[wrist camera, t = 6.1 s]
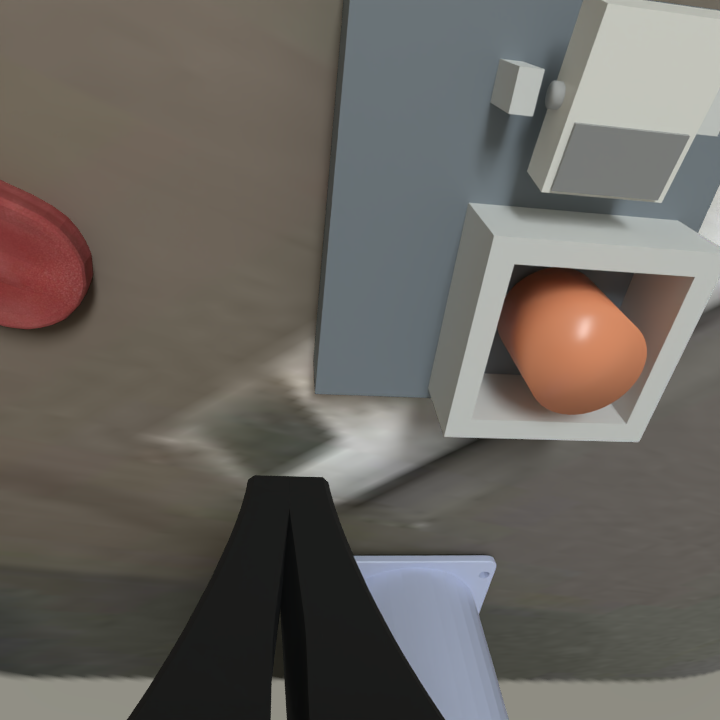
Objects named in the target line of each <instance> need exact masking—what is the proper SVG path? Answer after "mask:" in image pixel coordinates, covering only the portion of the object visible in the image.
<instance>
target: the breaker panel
mask: <svg viewBox="0 0 720 720" xmlns="http://www.w3.org/2000/svg"><path fill="white" fill-rule="evenodd" d="M647 1H652V0H647ZM582 2H583V0H344V1H343V13H342V25H341V37H340V49H339V61H338V73H337V85H336V97H335V109H334V121H333V133H332V145H331V157H330V169H329V181H328V193H327V205H326V217H325V229H324V241H323V253H322V265H321V277H320V288H319V300H318V312H317V324H316V336H315V348H314V360H313V362H314V383H315V394H335V395H363V396H391V397H419V398H431V399H432V402H433V405H434V408H435V411H436V414H437V417H438V420H439V423H440V426H441V429H442V433H443V436H444V437H467V438H505V439H543V440H581V441H619V442H639V441H640V439H641V437H642V435H643V433H644V431H645V429H646V427H647V425H648V423H649V420H650V418H651V416H652V414H653V412H654V410H655V408H656V406H657V404H658V402H659V400H660V398H661V396H662V394H663V392H664V390H665V388H666V386H667V384H668V382H669V380H670V378H671V376H672V374H673V372H674V369H675V367H676V365H677V363H678V361H679V359H680V357H681V355H682V353H683V351H684V349H685V347H686V345H687V343H688V341H689V339H690V337H691V335H692V333H693V331H694V329H695V327H696V325H697V323H698V321H699V318H700V316H701V314H702V312H703V310H704V308H705V306H706V304H707V302H708V300H709V298H710V296H711V294H712V292H713V290H714V288H715V286H716V284H717V282H718V280H719V278H720V247H719V246H718V245H716V244H714V243H713V242H711V241H710V240H708V239H707V238H705V237H703V236H702V235H700V234H699V233H698V232H699V229H700V227H701V225H702V223H703V220H704V218H705V216H706V214H707V211H708V209H709V207H710V205H711V203H712V200H713V198H714V196H715V194H716V191H717V189H718V187H719V185H720V89H719V91H718V93H717V95H716V97H715V99H714V101H713V103H712V104H711V106H710V108H709V110H708V112H707V114H706V116H705V118H704V120H703V122H702V124H701V126H700V128H699V130H698V132H697V134H696V136H695V138H694V140H693V142H692V144H691V146H690V148H689V150H688V152H687V154H686V156H685V158H684V160H683V162H682V164H681V166H680V168H679V170H678V172H677V174H676V175H675V177H674V179H673V181H672V183H671V185H670V187H669V189H668V191H667V193H666V195H665V197H664V199H663V201H662V203H657V202H645V201H634V200H623V199H612V198H601V197H590V196H578V195H567V194H556V193H545V192H541V191H540V190H539V188H538V187H537V185H536V184H535V182H534V181H533V179H532V178H531V176H530V175H529V174H528V172H527V170H528V167H529V164H530V161H531V158H532V155H533V151H534V148H535V145H536V142H537V139H538V136H539V133H540V130H541V127H542V124H543V121H544V118H545V115H546V112H547V108H546V106H545V97H546V92H547V89H548V87H549V85H550V83H551V82H552V81H554V80H555V81H557V78H558V75H559V72H560V69H561V66H562V63H563V60H564V57H565V54H566V51H567V48H568V45H569V42H570V39H571V36H572V33H573V30H574V27H575V24H576V21H577V18H578V15H579V11H580V8H581V5H582ZM654 2H659V1H654ZM661 3H666V2H661ZM668 4H673V3H668ZM675 5H680V4H675ZM682 6H687V5H682ZM689 7H694V6H689ZM696 8H701V7H696ZM703 9H708V8H703ZM710 10H715V9H710ZM717 11H720V10H717ZM553 267H560V268H571V269H574V270H577V271H579V272H581V273H583V274H584V275H586V276H587V277H588V278H589V279H590V280H591V281H592V282H593V283H594V284H595V285H596V286H597V287H598V288H599V289H600V290H601V291H602V292H603V293H604V294H605V295H606V296H607V297H608V298H609V299H610V300H611V301H612V302H613V304H614V305H615V306H616V307H617V308H618V309H619V310H620V311H621V312H622V313H623V314H624V315H625V316H626V317H627V318H628V319H629V320H630V321H631V322H632V323H633V324H634V325H635V326H636V327H637V328H638V329H639V330H640V332H641V333H642V334H643V337H644V339H645V342H646V346H647V358H646V362H645V365H644V368H643V371H642V373H641V374H640V376H639V378H638V379H637V381H636V382H635V384H634V385H633V386H632V387H631V388H630V389H629V390H628V391H627V392H626V393H625V394H624V395H623V396H621V397H620V398H619V399H617V400H616V401H614V402H613V403H611V404H609V405H607V406H606V407H603V408H601V409H599V410H596V411H593V412H589V413H584V414H577V415H567V414H560V413H556V412H553V411H550V410H548V409H546V408H545V407H543V406H542V405H541V404H540V403H539V402H538V401H537V400H536V399H535V397H534V396H533V394H532V392H531V391H530V389H529V387H528V385H527V384H526V382H525V380H524V378H523V377H522V375H521V373H520V371H519V370H518V368H517V366H516V364H515V363H514V361H513V359H512V357H511V356H510V354H509V352H508V350H507V349H506V347H505V345H504V343H503V342H502V340H501V338H500V336H499V333H498V329H497V325H498V321H499V317H500V314H501V310H502V307H503V303H504V299H505V297H506V295H507V294H508V293H509V291H510V290H511V289H512V288H513V287H514V286H515V285H516V284H517V283H518V282H520V281H521V280H522V279H524V278H525V277H527V276H528V275H530V274H533V273H535V272H537V271H540V270H543V269H547V268H553Z"/></svg>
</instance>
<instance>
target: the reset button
mask: <svg viewBox="0 0 720 720" xmlns="http://www.w3.org/2000/svg"><path fill="white" fill-rule="evenodd" d="M497 329H498V333H499V336H500V338H501V340H502V342H503V343H504V345H505V347H506V349H507V350H508V352H509V354H510V356H511V357H512V359H513V361H514V363H515V364H516V366H517V368H518V370H519V371H520V373H521V375H522V377H523V378H524V380H525V382H526V384H527V385H528V387H529V389H530V391H531V392H532V394H533V396H534V397H535V399H536V400H537V401H538V402H539V403H540V404H541V405H542V406H543V407H545V408H546V409H548V410H550V411H553V412H556V413H560V414H567V415H577V414H584V413H589V412H593V411H596V410H599V409H601V408H603V407H606V406H607V405H609V404H611V403H613V402H614V401H616V400H617V399H619V398H620V397H621V396H623V395H624V394H625V393H626V392H627V391H628V390H629V389H630V388H631V387H632V386H633V385H634V384H635V382H636V381H637V379H638V378H639V376H640V374H641V373H642V371H643V368H644V365H645V362H646V358H647V346H646V342H645V339H644V337H643V334H642V333H641V332H640V330H639V329H638V328H637V327H636V326H635V325H634V324H633V323H632V322H631V321H630V320H629V319H628V318H627V317H626V316H625V315H624V314H623V313H622V312H621V311H620V310H619V309H618V308H617V307H616V306H615V305H614V304H613V302H612V301H611V300H610V299H609V298H608V297H607V296H606V295H605V294H604V293H603V292H602V291H601V290H600V289H599V288H598V287H597V286H596V285H595V284H594V283H593V282H592V281H591V280H590V279H589V278H588V277H587V276H586V275H584V274H583V273H581V272H579V271H577V270H574V269H571V268H560V267H553V268H547V269H543V270H540V271H537V272H535V273H533V274H530V275H528V276H527V277H525V278H524V279H522V280H521V281H520V282H518V283H517V284H516V285H515V286H514V287H513V288H512V289H511V290H510V291H509V293H508V294H507V295H506V297H505V299H504V303H503V307H502V310H501V314H500V317H499V321H498V325H497Z"/></svg>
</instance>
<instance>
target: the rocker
mask: <svg viewBox="0 0 720 720" xmlns="http://www.w3.org/2000/svg"><path fill="white" fill-rule="evenodd" d="M719 89H720V11H717V10H710V9H703V8H696V7H689V6H682V5H675V4H668V3H661V2H654V1H647V0H583V2H582V5H581V8H580V11H579V15H578V18H577V21H576V24H575V27H574V30H573V33H572V36H571V39H570V42H569V45H568V48H567V51H566V54H565V57H564V60H563V63H562V66H561V69H560V72H559V75H558V78H557V81H555V80H554V81H552V82H551V83H550V85H549V87H548V89H547V92H546V97H545V106H546V108H547V112H546V115H545V118H544V121H543V124H542V127H541V130H540V133H539V136H538V139H537V142H536V145H535V148H534V151H533V155H532V158H531V161H530V164H529V167H528V170H527V172H528V174H529V175H530V176H531V178H532V179H533V181H534V182H535V184H536V185H537V187H538V188H539V190H540V191H541V192H545V193H556V194H567V195H578V196H590V197H601V198H612V199H623V200H634V201H645V202H657V203H662V201H663V199H664V197H665V195H666V193H667V191H668V189H669V187H670V185H671V183H672V181H673V179H674V177H675V175H676V174H677V172H678V170H679V168H680V166H681V164H682V162H683V160H684V158H685V156H686V154H687V152H688V150H689V148H690V146H691V144H692V142H693V140H694V138H695V136H696V134H697V132H698V130H699V128H700V126H701V124H702V122H703V120H704V118H705V116H706V114H707V112H708V110H709V108H710V106H711V104H712V103H713V101H714V99H715V97H716V95H717V93H718V91H719Z"/></svg>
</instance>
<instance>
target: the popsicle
mask: <svg viewBox="0 0 720 720" xmlns="http://www.w3.org/2000/svg"><path fill="white" fill-rule="evenodd" d="M92 276H93V267H92V256H91V252H90V250H89V247H88V245H87V243H86V241H85V239H84V238H83V236H82V234H81V233H80V231H79V230H78V228H77V227H76V226H75V225H74V224H73V223H72V221H71V220H70V219H69V218H68V217H67V216H66V215H64V214H63V213H62V212H60V211H59V210H57V209H56V208H55V207H53V206H52V205H50V204H48V203H46V202H45V201H43V200H41V199H39V198H37V197H36V196H34V195H32V194H30V193H28V192H25V191H23V190H21V189H19V188H17V187H15V186H12V185H10V184H8V183H6V182H4V181H2V180H0V325H1V326H6V327H10V328H20V329H34V328H42V327H46V326H50V325H53V324H56V323H58V322H60V321H62V320H65V319H66V318H67V317H68V316H69V315H70V314H71V313H72V312H73V311H74V310H75V309H76V308H77V307H78V306H79V305H80V303H81V301H82V300H83V298H84V296H85V295H86V293H87V291H88V288H89V286H90V283H91V280H92Z"/></svg>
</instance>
